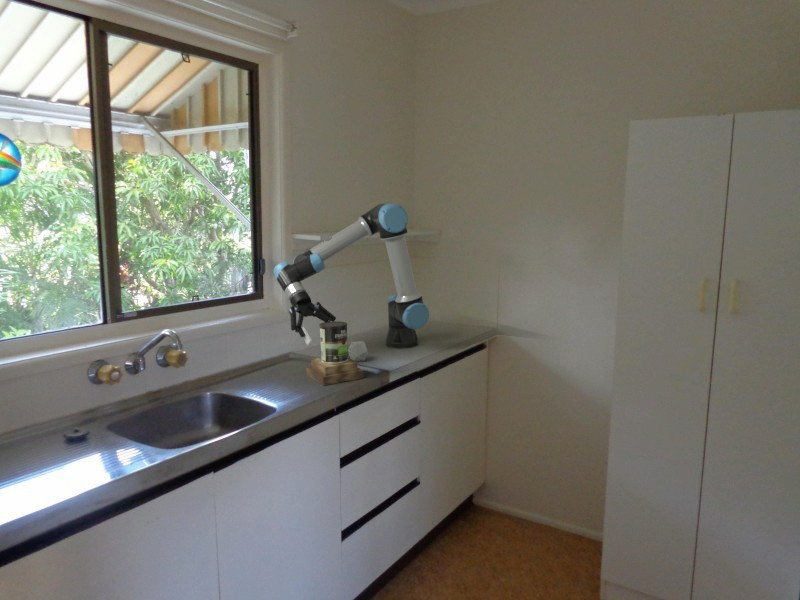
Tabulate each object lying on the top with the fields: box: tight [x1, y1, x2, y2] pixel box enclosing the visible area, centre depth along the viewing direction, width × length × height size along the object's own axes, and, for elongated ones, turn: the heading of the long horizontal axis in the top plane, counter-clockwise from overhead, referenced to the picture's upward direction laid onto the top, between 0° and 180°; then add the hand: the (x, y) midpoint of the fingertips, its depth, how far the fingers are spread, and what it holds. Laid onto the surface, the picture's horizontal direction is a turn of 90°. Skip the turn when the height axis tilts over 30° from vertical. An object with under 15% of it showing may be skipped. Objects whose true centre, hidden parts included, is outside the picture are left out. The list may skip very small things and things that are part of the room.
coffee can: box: [318, 320, 349, 364], centre depth 217 cm, size 10×10×14 cm
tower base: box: [305, 357, 364, 386], centre depth 218 cm, size 16×16×6 cm
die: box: [348, 340, 369, 362], centre depth 241 cm, size 8×9×10 cm
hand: (324, 339), depth 220 cm, fingers open, 13 cm apart
